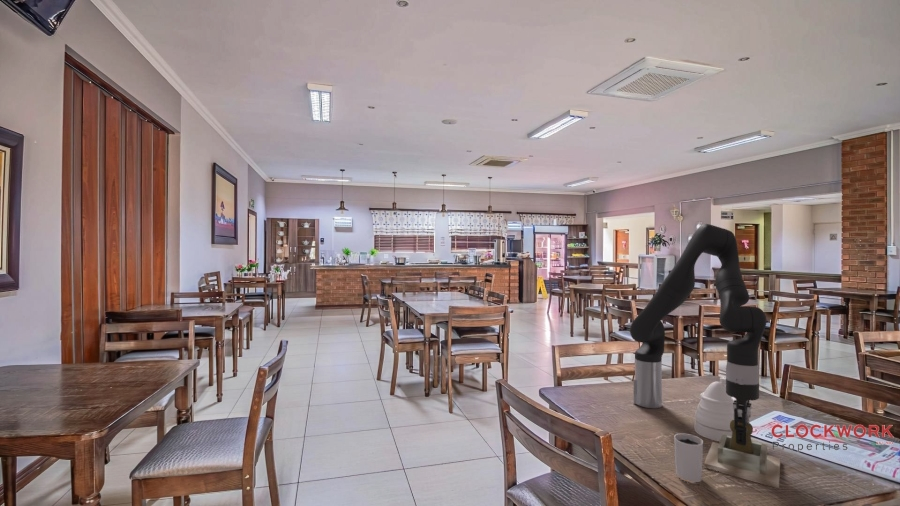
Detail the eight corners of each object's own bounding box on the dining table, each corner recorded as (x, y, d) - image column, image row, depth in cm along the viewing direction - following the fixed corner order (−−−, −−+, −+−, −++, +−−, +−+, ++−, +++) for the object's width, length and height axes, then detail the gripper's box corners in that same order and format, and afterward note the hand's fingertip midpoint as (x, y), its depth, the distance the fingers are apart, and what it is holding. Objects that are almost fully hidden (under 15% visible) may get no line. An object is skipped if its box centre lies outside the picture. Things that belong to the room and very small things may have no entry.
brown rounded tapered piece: (759, 467, 111) (759, 426, 111) (734, 465, 112) (733, 424, 112) (748, 456, 117) (748, 417, 117) (724, 454, 118) (724, 415, 118)
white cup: (668, 471, 112) (668, 434, 112) (692, 469, 113) (692, 432, 113) (684, 485, 105) (684, 445, 105) (709, 483, 106) (709, 444, 106)
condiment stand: (704, 467, 114) (704, 448, 114) (712, 445, 126) (712, 428, 126) (778, 488, 104) (778, 467, 103) (780, 462, 116) (780, 443, 116)
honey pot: (734, 427, 139) (734, 373, 138) (748, 445, 126) (748, 385, 126) (690, 422, 143) (690, 370, 143) (699, 439, 131) (699, 381, 130)
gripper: (728, 370, 123) (728, 427, 123) (722, 383, 111) (722, 445, 112) (760, 375, 118) (760, 434, 118) (757, 388, 107) (757, 454, 107)
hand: (742, 439), depth 115 cm, fingers open, 6 cm apart
